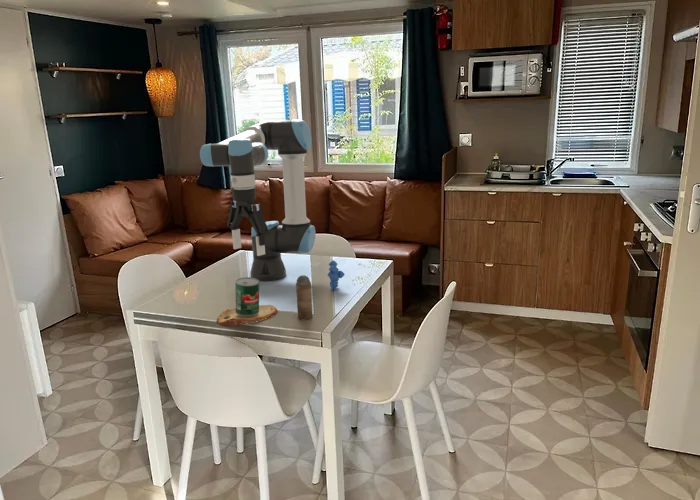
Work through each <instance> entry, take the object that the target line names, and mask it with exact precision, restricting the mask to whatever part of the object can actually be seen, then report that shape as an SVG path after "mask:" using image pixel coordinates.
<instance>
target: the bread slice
mask: <svg viewBox="0 0 700 500" xmlns="http://www.w3.org/2000/svg"><path fill="white" fill-rule="evenodd" d="M278 311H279V310H278V308H277V307H276V306H274V305H271V304H259V313H258V314H256V315H253V316H241V315H238V314H237V313H236V307H235V308H230V309H229V308H227V309H226V310H223V311H222V312H221V313H220V314H219V315H218V317H217V318H216V324H218V325H219V326H227V327H228V326H229V327H236V326H244V325H243V324H246V323H251V324H253V323H252V322H256V321H259V322H261V321H260V320H262V319H265V318H268V319H270V318H269V317H271V316H273V315H274V316H276V315H277V314H278ZM276 313H277V314H276ZM275 314H276V315H275ZM274 316H273V317H274ZM271 318H272V317H271ZM265 320H266V319H265ZM262 321H263V320H262ZM256 323H257V322H256ZM246 325H247V324H246Z"/></svg>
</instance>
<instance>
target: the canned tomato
mask: <svg viewBox="0 0 700 500" xmlns="http://www.w3.org/2000/svg"><path fill="white" fill-rule="evenodd" d="M234 288H235V308H236V313H237V314H238V315H241V316H253V315H256V314H258V313H259V305H260V281H259V280H258V279H256V278H251V276H250V277H248V276H247V277H246V276H245V277H239V278H237V279H235V287H234Z"/></svg>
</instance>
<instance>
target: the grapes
mask: <svg viewBox="0 0 700 500" xmlns="http://www.w3.org/2000/svg"><path fill="white" fill-rule="evenodd" d="M328 265H329V268H328V270H329V272H328V273H327V277H329V279H330V282H329V288H331V289H332V290H334V291H335V290H336V289H337V288H338V286H339V280H340V279H342V278H343V277H344V276H345V272H344V271H342V270H339V269H340V268H338V267H337V266H338V263H337V262H336V261H335V260H331V261H330V262H329V264H328Z"/></svg>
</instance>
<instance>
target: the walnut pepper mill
mask: <svg viewBox="0 0 700 500" xmlns="http://www.w3.org/2000/svg"><path fill="white" fill-rule="evenodd" d="M295 291H296V292H295V293H296V306H297V307H296V308H297V319H298V318H299V320H301V319H307V320H310V318H311V319H313V317H314V316H313V298H312V297H313V296H312V282H311V279H310V278H309V277H308V276H307V275H305V274H302V275H299V276H298V277H297V279H296V282H295Z"/></svg>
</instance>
